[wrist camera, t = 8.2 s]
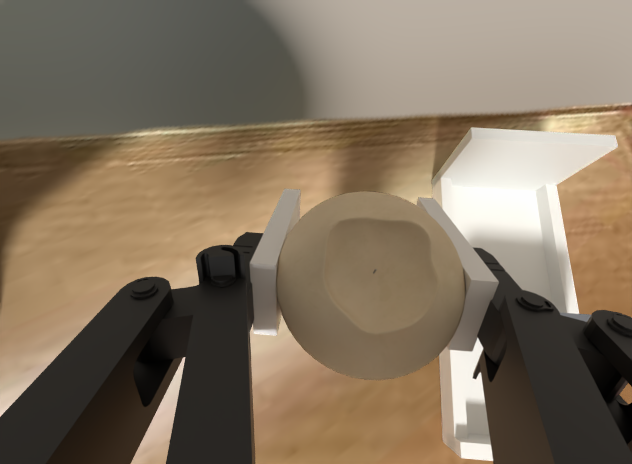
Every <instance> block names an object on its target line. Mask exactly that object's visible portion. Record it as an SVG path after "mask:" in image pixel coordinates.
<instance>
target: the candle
mask: <svg viewBox="0 0 632 464" xmlns="http://www.w3.org/2000/svg"><path fill="white" fill-rule="evenodd" d="M276 291H277V297H278V303H279V306H280V309H281V313H282V316H283V318H284V320H285V322H286V324H287V326H288V329H289V330H290V332H291V333H292V335H293V336H294V338H295V339H296V341H297V342H298V343H299V344H300V345H301V346H302V348H303V349H304V350H305V351H306V352H307V353H309V354H310V355H311V356H312V357H313V358H314V359H315V360H317V361H318V362H320V363H321V364H323V365H324V366H326V367H328V368H330V369H332V370H334V371H336V372H338V373H340V374H343V375H346V376H349V377H353V378H358V379H364V380H386V379H394V378H398V377H402V376H405V375H408V374H410V373H413V372H415V371H417V370H419V369H421V368H422V367H424V366H426V365H427V364H429V363H430V362H431V361H432V360H434V359H435V358H436V357H437V356H438V355H439V354H440V353H441V352H442V351H443V350H444V349H445V348H446V346H447V345H448V344H449V342H450V341H451V339H452V338H453V336H454V334H455V332H456V330H457V328H458V326H459V324H460V320H461V317H462V314H463V310H464V303H465V278H464V272H463V268H462V263H461V260H460V258H459V255H458V252H457V250H456V248H455V246H454V244H453V243H452V241H451V239H450V238H449V236H448V235H447V233H446V232H445V230H444V229H443V228H442V227H441V226H440V225H439V224H438V222H437V221H436V220H435V219H433V218H432V217H431V216H430V215H429V214H428V213H427V212H425V211H424V210H422V209H421V208H420V207H418V206H416V205H414V204H413V203H411V202H409V201H407V200H405V199H402V198H400V197H397V196H394V195H390V194H386V193H380V192H370V191H361V192H351V193H346V194H341V195H338V196H335V197H333V198H330V199H328V200H326V201H324V202H322V203H320V204H318V205H317V206H315V207H314V208H312V209H311V210H310V211H308V212H307V213H306V214H305V215H304V216H303V217H302V218H301V219H300V220H299V221H298V222H297V223H296V224H295V226H294V227H293V229H292V230H291V232H290V233H289V234H288V236H287V238H286V240H285V242H284V244H283V247H282V250H281V252H280V255H279V260H278V267H277V276H276Z"/></svg>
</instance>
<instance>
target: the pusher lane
mask: <svg viewBox="0 0 632 464" xmlns="http://www.w3.org/2000/svg"><path fill="white" fill-rule="evenodd" d="M617 147H618V145H617V141H616V137H615V136H614V135H596V134H579V133H561V132H544V131H526V130H509V129H491V128H473V127H471V128H470V130H469V131H468V132H467V134H466V135H465V136H464V138H463V139H462V140H461V142H460V143H459V144H458V146H457V147H456V148H455V150H454V151H453V153H452V154H451V155H450V157H449V158H448V159H447V161H446V162H445V163H444V165H443V166H442V167H441V169H440V170H439V171H438V173H437V174H436V175H435V177H434V178H433V179H432V198H434V199H435V200H436V201H437V202H438V204H439V205H440V206H441V208H442V209H443V210H444V211H445V213H446V214H447V215H448V217H449V218H450V219H451V220H452V222H453V223H454V224H455V226H456V227H457V228H458V230H459V231H460V232H461V233H462V235H463V236H464V237H465V239H466V240H467V241H468V242H469V244H470V245H471V246H472V247H474V248H482V249H484V250H485V251H487V252H488V253H490V254H491V255H493V256H494V257H495V259H496V260H497V261H498V262H499V263H500V265H501V266H502V267H503V268H504V269H505V272H507V273H508V274H509V275H510V276H511V277H512V278H513V280H514V281H515V282H516V283H517V284H518V286H519V287H520V288H521V289H522V290H526V291H529V292H533V293H536V294H538V295H540V296H542V297H544V298H546V299H547V300H549V301H550V302H551V303H553V304H554V306H555V307H556V308H557V309H558V311H559V312H560V313H573V314H579V310H578V305H577V299H576V293H575V288H574V282H573V276H572V271H571V265H570V260H569V254H568V248H567V243H566V237H565V231H564V226H563V220H562V214H561V209H560V203H559V198H558V192H557V186H556V185H557V184H559V183H560V182H562V181H564V180H565V179H567V178H568V177H570V176H572V175H573V174H575V173H576V172H578V171H580V170H581V169H583V168H585V167H586V166H588V165H589V164H591V163H593V162H594V161H596V160H597V159H599V158H601V157H602V156H604V155H605V154H607V153H609V152H610V151H612V150H614V149H615V148H617ZM482 350H483V347H482V345H481V343H480V341H479V339H478V338H477V341H476V343H475V346H474V349H473V351H472V352H469V351H457V350H448V348H447V346H446V348H445V349H444V350H443V351H442V352H441V353H440V354H439V363H440V387H441V410H442V434H443V442H444V443H445V444H446V445H447V446H448V447H449V448H451V449H452V450H453V451H454V452H455V453H456V454H457V455H458V456H460V457H461V458H466V459H477V460H488V461H493V456H492V449H491V441H490V434H489V427H488V420H487V413H486V405H485V398H484V391H483V384H482V377H481V372H480V373H479V374H478V377H477V379H473V373H474V370H475V368H476V365H477V363H478V360H479V358H480V355H481V353H482Z"/></svg>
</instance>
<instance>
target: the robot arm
mask: <svg viewBox="0 0 632 464" xmlns="http://www.w3.org/2000/svg"><path fill="white" fill-rule="evenodd" d="M416 206H418V207H420V208H421V209H422V210H424V211H425V212H427V213H428V214H429V215H430V216H431V217H432V218H433V219H435V220H436V221H437V222H438V224H439V225H440V226H441V227H442V228H443V229H444V230H445V232H446V233H447V235H448V236H449V238H450V239H451V241H452V243H453V244H454V246H455V248H456V250H457V252H458V255H459V258H460V260H461V263H462V268H463V272H464V278H465V303H464V310H463V314H462V317H461V320H460V324H459V326H458V328H457V330H456V332H455V334H454V336H453V338H452V339H451V341H450V342H449V344H448V345H447V348H448V350H457V351H469V352H472V351H473V349H474V346H475V343H476V341H477V338H478V339H479V341H480V343H481V345H482V347H483V350H482V353H481V355H480V358H479V360H478V363H477V365H476V368H475V370H474V373H473V379H477V377H478V374H479V373H480V372H481V377H482V384H483V391H484V398H485V405H486V413H487V420H488V427H489V434H490V441H491V449H492V456H493V463H494V464H632V403H631V404H628V403H626V402H625V401H624V400H623V399H622V397H621V396H620V395H619V394H620V393H621V392H622V390H623V389H624V388H625V386H626V385H627V384H628V383H629V384H630V385H631V386H632V318H631V317H629V316H627V315H622V314H621V313H618V312H612V311H607V310H597V311H595V312H593V313H592V315H591V316H590V318H589V320H588V322H585V321H582V320H578V319H574V318H570V317H566V316H563V315H560V313H559V311H558V309H557V308H556V307H555V306H554V304H553V303H551V302H550V301H549V300H547V299H546V298H544V297H542V296H540V295H538V294H536V293H533V292H529V291H526V290H522V289H521V288H520V287H519V286H518V284H517V283H516V282H515V281H514V280H513V278H512V277H511V276H510V275H509V274H508V273H507V272H505V269H504V268H503V267H502V266H501V265H500V263H499V262H498V261H497V260H496V259H495V257H494V256H493V255H491V254H490V253H488V252H487V251H485V250H484V249H482V248H474V247H472V246H471V245H470V244H469V242H468V241H467V240H466V239H465V237H464V236H463V235H462V233H461V232H460V231H459V230H458V228H457V227H456V226H455V224H454V223H453V222H452V220H451V219H450V218H449V217H448V215H447V214H446V213H445V211H444V210H443V209H442V208H441V206H440V205H439V204H438V202H437V201H436V200H435V199H434V198H419V197H418V201H417V205H416ZM299 220H300V190H298V189H284V191H283V193H282V195H281V197H280V200H279V202H278V204H277V206H276V208H275V210H274V212H273V215H272V217H271V219H270V221H269V223H268V225H267V227H266V229H265V232H264V233H250V232H246V233H245V234H243V235H241V236H240V237H238V238H237V240H236V241H235V243H234V245H233V246H231V245H218V246H212V247H209V248H207V249H204V250H203V251H201V252H200V253H199V254H198V255H197V257H196V263H197V270H198V276H199V285H197V286H193V287H187V288H179V289H171V287H170V284H169V281H167V280H166V279H164V278H160V277H145V278H141V279H137V280H135V281H133V282H131V283H129V284H127V285H126V286H124V287H123V288H122V289H120V291H119V292H118V293H117V294H116V295H115V296H114V297H113V298H112V299H111V300H110V301H109V302H108V303H107V304H106V305H105V306H104V308H103V309H102V310H101V311H100V312H99V313H98V314H97V315H96V316H95V317H94V318H93V319H92V320H91V321H90V322H89V323H88V324H87V326H86V327H85V328H84V329H83V330H82V331H81V332H80V333H79V334H78V335H77V336H76V337H75V338H74V339H73V340H72V341H71V343H70V344H69V345H68V346H67V347H66V348H65V349H64V350H63V351H62V352H61V353H60V354H59V355H58V356H57V357H56V358H55V359H54V361H53V362H52V363H51V364H50V365H49V366H48V367H47V368H46V369H45V370H44V371H43V372H42V373H41V374H40V375H39V376H38V377H37V379H36V380H35V381H34V382H33V383H32V384H31V385H30V386H29V387H28V388H27V389H26V390H25V391H24V392H23V393H22V394H21V396H20V397H19V398H18V399H17V400H16V401H15V402H14V403H13V404H12V405H11V406H10V407H9V408H8V409H7V410H6V411H5V412H4V414H3V415H2V416H1V417H0V464H130V463H131V461H132V459H133V457H134V455H135V453H136V451H137V449H138V447H139V445H140V443H141V441H142V439H143V437H144V435H145V433H146V431H147V429H148V427H149V425H150V423H151V421H152V419H153V417H154V415H155V413H156V411H157V409H158V407H159V405H160V403H161V401H162V399H163V397H164V395H165V393H166V391H167V389H168V387H169V385H170V383H171V381H172V379H173V377H174V375H175V373H176V371H177V369H178V367H179V365H180V363H181V361H182V358H183V357H186V358H185V363H184V369H183V374H182V379H181V385H180V390H179V396H178V401H177V407H176V412H175V417H174V423H173V428H172V434H171V439H170V445H169V450H168V455H167V461H166V464H255V443H254V419H253V396H252V372H251V348H250V330H251V327H252V324H253V328H254V334H264V335H276V336H277V332H278V328H279V324H280V320H281V315H282V313H281V309H280V306H279V303H278V297H277V291H276V276H277V267H278V260H279V255H280V252H281V250H282V247H283V244H284V242H285V240H286V238H287V236H288V234H289V233H290V232H291V230H292V229H293V227H294V226H295V224H296V223H297V222H298V221H299Z"/></svg>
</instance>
